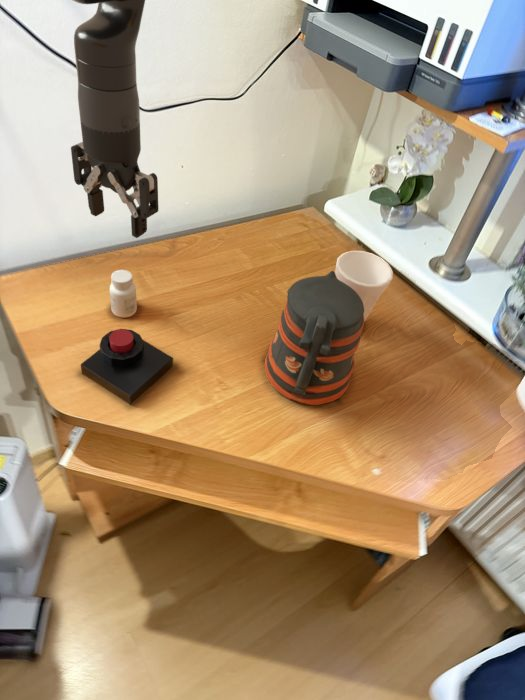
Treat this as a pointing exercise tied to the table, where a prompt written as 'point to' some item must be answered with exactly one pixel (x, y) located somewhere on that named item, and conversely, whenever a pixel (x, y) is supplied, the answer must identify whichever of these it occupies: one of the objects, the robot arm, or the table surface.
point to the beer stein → (316, 340)
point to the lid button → (121, 341)
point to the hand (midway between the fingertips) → (117, 224)
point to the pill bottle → (123, 294)
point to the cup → (364, 276)
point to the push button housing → (127, 368)
